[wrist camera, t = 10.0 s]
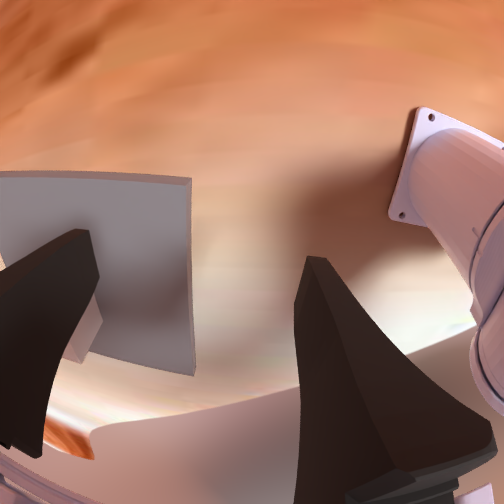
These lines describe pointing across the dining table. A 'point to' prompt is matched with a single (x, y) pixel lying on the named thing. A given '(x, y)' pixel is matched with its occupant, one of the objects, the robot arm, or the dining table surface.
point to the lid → (115, 257)
